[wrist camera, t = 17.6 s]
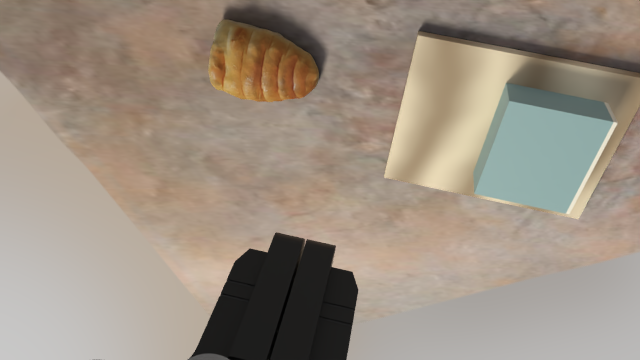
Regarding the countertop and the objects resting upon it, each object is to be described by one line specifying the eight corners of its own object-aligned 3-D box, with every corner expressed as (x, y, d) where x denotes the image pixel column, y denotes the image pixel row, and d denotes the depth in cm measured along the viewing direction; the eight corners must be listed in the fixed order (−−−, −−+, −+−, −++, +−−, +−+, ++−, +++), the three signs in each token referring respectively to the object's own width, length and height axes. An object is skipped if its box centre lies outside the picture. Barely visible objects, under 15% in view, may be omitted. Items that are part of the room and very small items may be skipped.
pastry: (326, 35, 45) (317, 53, 42) (316, 105, 49) (306, 126, 46) (219, 12, 46) (202, 28, 43) (217, 83, 50) (202, 102, 47)
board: (384, 171, 52) (383, 177, 51) (418, 30, 43) (417, 35, 42) (576, 212, 50) (578, 219, 49) (649, 75, 42) (653, 80, 41)
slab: (474, 193, 46) (569, 214, 45) (509, 100, 41) (617, 122, 40) (473, 172, 49) (563, 191, 48) (505, 82, 43) (607, 102, 43)
